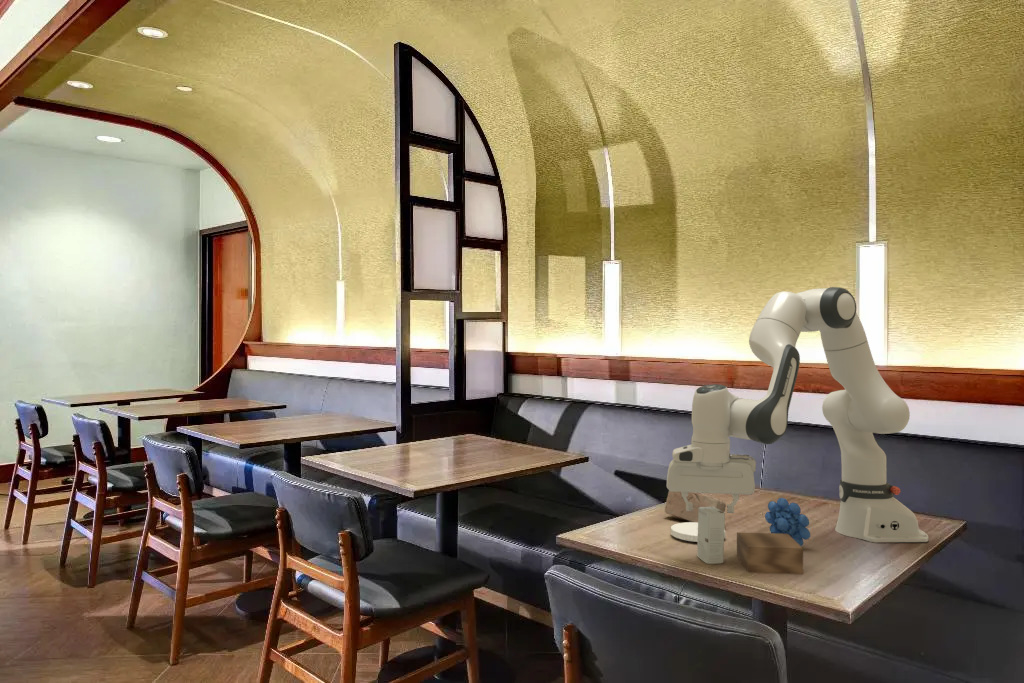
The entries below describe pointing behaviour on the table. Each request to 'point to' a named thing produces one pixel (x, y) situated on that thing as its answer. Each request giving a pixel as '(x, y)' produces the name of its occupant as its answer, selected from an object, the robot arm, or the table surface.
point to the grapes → (787, 520)
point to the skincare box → (710, 535)
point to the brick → (678, 505)
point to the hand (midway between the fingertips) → (709, 511)
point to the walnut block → (769, 553)
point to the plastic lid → (686, 531)
